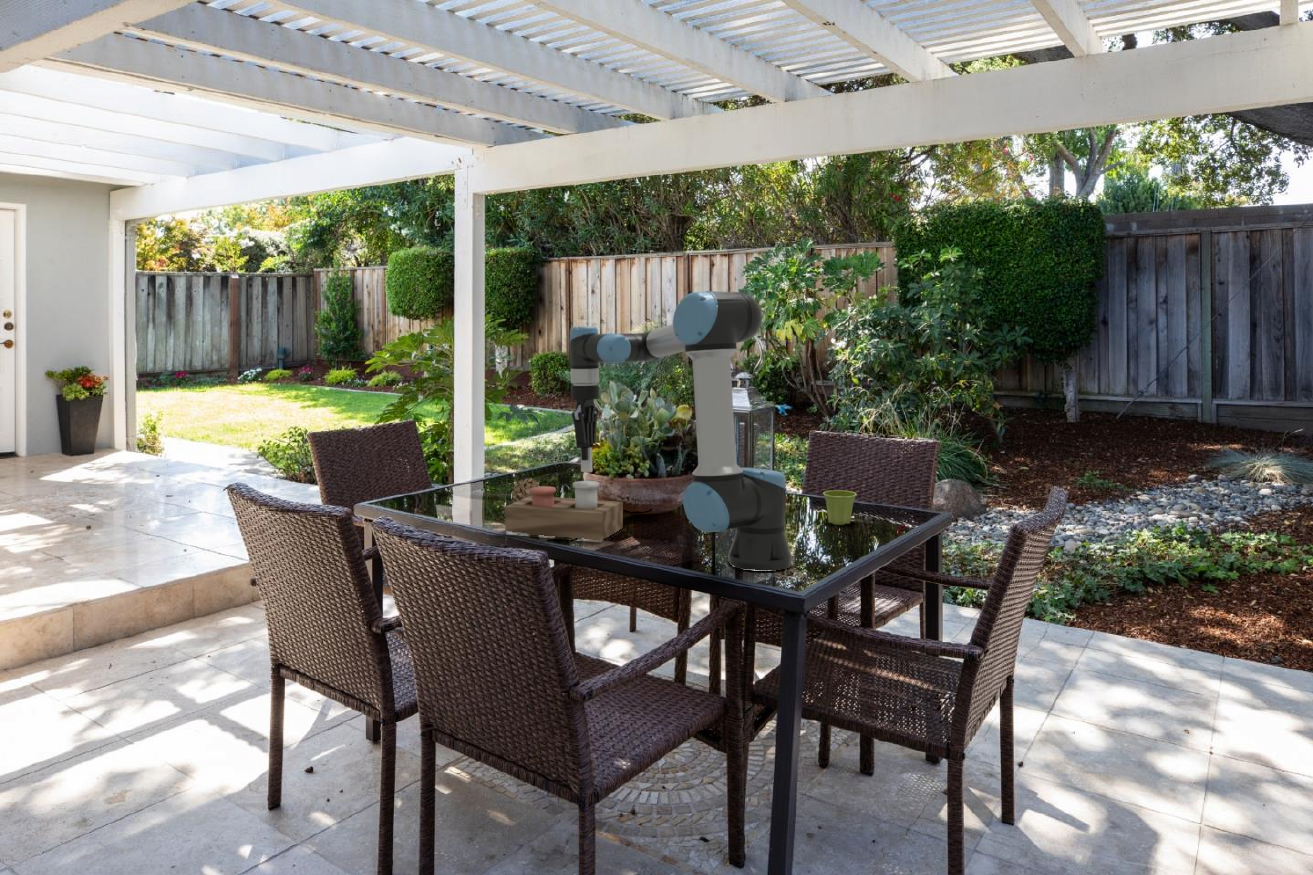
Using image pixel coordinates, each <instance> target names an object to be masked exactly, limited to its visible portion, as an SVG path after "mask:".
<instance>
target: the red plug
mask: <svg viewBox="0 0 1313 875" xmlns="http://www.w3.org/2000/svg"><path fill="white" fill-rule="evenodd" d="M539 486H540V487H533V488H530V493H531V494H532V505H537V506H552V505H554V497H555V494H556V492H557V489H556V488H557V487H555V486H550V485H549V486H548V485H547V486H546V485H544V486H543V485H542V486H541V485H539Z"/></svg>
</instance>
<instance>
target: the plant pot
mask: <svg viewBox="0 0 1313 875" xmlns="http://www.w3.org/2000/svg"><path fill="white" fill-rule="evenodd" d="M822 493H823V494H822V495H823V496H824V500H825V505H826V512H827V520H828V521H827V522H828V523H829V524H833V525H836V526H844V525H849V524H851V520H852V511H853V507H854V503H855V502H854V501H855V499H856V497H857V492H854V491H851V490H850V491H849V490H843V489H842V490H840V489H839V490H836V489H834V490H826V491H824V492H822Z"/></svg>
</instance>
